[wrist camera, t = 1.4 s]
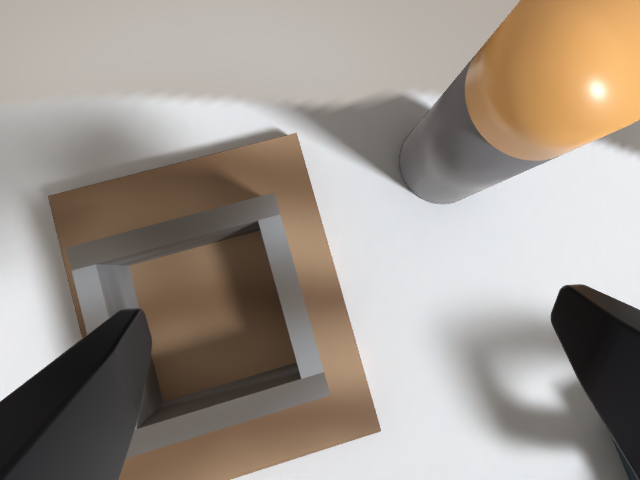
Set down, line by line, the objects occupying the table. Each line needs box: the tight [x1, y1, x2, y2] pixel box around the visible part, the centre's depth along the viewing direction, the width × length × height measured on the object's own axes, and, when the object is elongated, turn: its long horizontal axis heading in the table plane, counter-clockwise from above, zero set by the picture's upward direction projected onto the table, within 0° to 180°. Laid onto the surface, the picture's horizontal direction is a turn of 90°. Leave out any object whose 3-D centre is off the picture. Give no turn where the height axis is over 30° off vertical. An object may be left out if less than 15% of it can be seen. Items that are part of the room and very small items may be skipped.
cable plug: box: [399, 0, 640, 204], centre depth 18 cm, size 5×5×12 cm
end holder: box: [48, 133, 381, 480], centre depth 20 cm, size 16×13×5 cm
